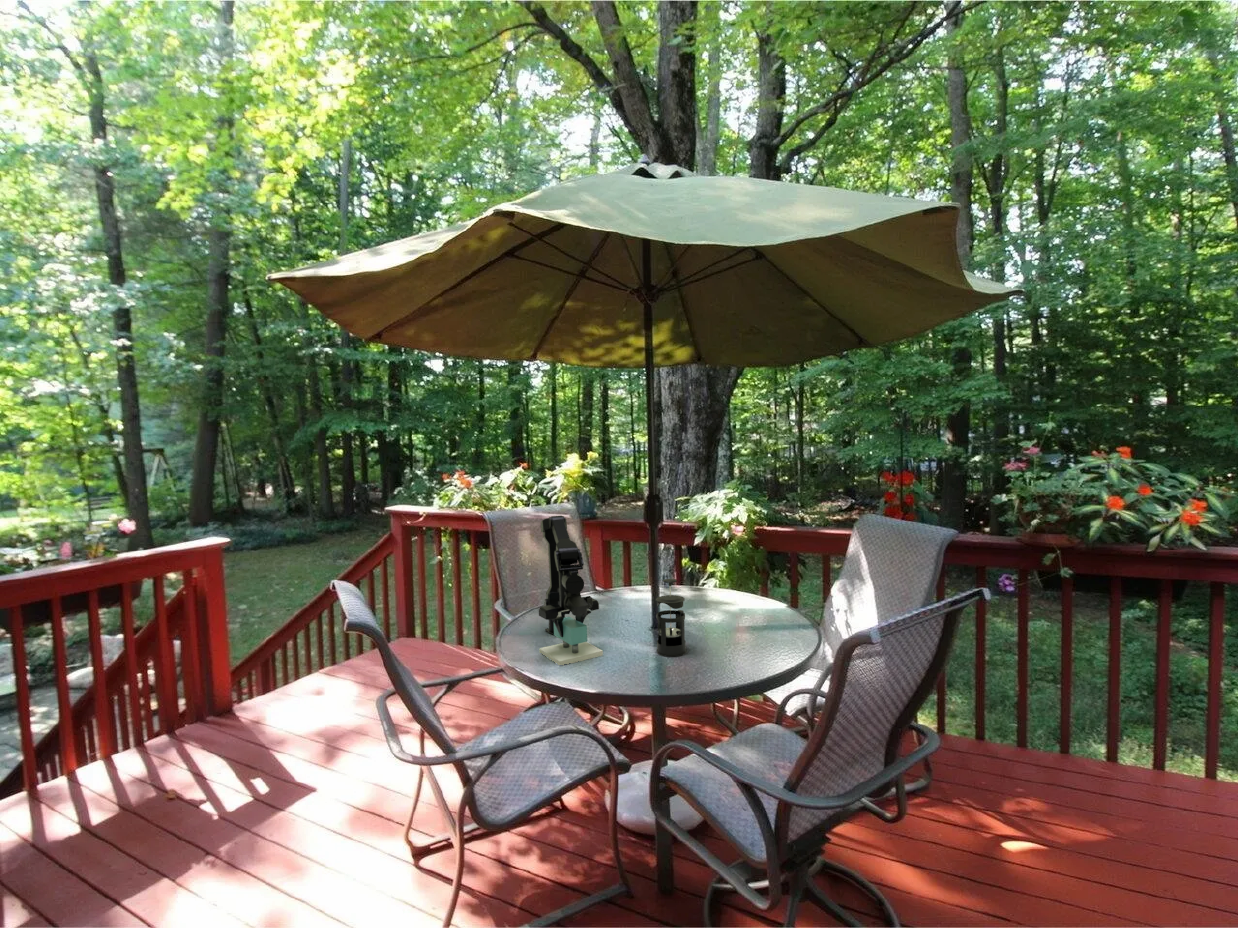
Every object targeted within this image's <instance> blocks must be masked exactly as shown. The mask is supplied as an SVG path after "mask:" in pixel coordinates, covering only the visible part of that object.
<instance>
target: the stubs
mask: <svg viewBox="0 0 1238 928" xmlns="http://www.w3.org/2000/svg"><path fill="white" fill-rule="evenodd" d="M562 643H563V648H569V644H568V643H567V642H565V641H563V640H562ZM578 652H579V650H578V644H574V645H572V653H578Z"/></svg>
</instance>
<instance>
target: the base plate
mask: <svg viewBox="0 0 1238 928" xmlns="http://www.w3.org/2000/svg"><path fill="white" fill-rule="evenodd" d="M578 650H579V652H578V653H572V645H570V644H569V648H563V642H561V643H558V644H557V643H556V644H552V645H548V646H544V647H543V646H542V647H540V648H539V654H540V653H542V654H543V655H545V656H546V657H548V658H549V659H548V658H547V659H548V660H550V659H551V660H552V661H551V660H550V661H551V662H553V661H554V662H555V663H554V662H553V663H554V664H556V663H557V664H558V665H557V664H556V665H557V666H559V665H563V666H565V665H564V664H567V665H570V664H569V663H571V664H574V663H578V661H579V662H583V661H587V660H591V659H594V658H595V659H596V658H597V657H603V656H604V651H603V650H602V649H600V648H599V647H596V646H595V645H593V644H591V643H590V642H588V641H587V642H583V643H579V644H578ZM542 654H541V655H542ZM543 655H542V656H543ZM545 656H544V657H545ZM546 657H545V658H546Z"/></svg>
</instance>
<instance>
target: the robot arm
mask: <svg viewBox="0 0 1238 928" xmlns="http://www.w3.org/2000/svg"><path fill="white" fill-rule="evenodd" d="M540 532H541V533H542V537H543V539H544V540H545V542H546V543H547V550H548V551H547V552H548V554H547V555H548V567H549V568H548V573H549V574H548V575H549V587H548V589H547V591H546V593H545V598H544V601H543V606H540V607H539V609H538V616H539V617H541V618H542V619H544V620H547V621H548V628H545V629H544V630H545V632H547V633H549V634H550V635H553V636H555V635H554V624H555V626H556V628H557V630H558V632H559V634H560V636H561V637H563V619H564V618H565V617H566V615H570V613H571V615H572V616H575V618H574V619H575V620H577V621H579V622H581V623H583V624H584V621H585V620H586V617H587V616H588V615H590V614H591V613H592V612H593V611H597V610H599V609H600V602H599V601H598V600H597V599H596V598H595V599H594V598H593V597H592V596H591V595H589V596H588V595H587V596H582V594H581V592H583V590H584V587H585V581H584V579H583V577H582V576H581V575H580V573H579V570H580V571H581V570H583V569H584V565H585V563H584V558H583V554H582V552H581V549H580V548H578V546H577V544H576V542H574V541H573V540H571V538H570V534H569V532H568V523H567V518H566V517H565V516H564V515H551V516H549V517H548V518H543V519H542V520H541V522H540Z"/></svg>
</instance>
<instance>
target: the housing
mask: <svg viewBox="0 0 1238 928" xmlns="http://www.w3.org/2000/svg"><path fill="white" fill-rule="evenodd" d="M553 636H555V637H557V638H558V639H560V640H562V642H563V641H565V642H567V643H568V644H570V645H574V644H579V643H583V642H588V625H586V624H585V623H584V622H583V623H581V622H579V621H577V620H576V618H573V617H570V616H565V618H564V619H563V637H561V636H560V634H559V632H558V630H557V628H556V626H555V624H554V635H553Z"/></svg>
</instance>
